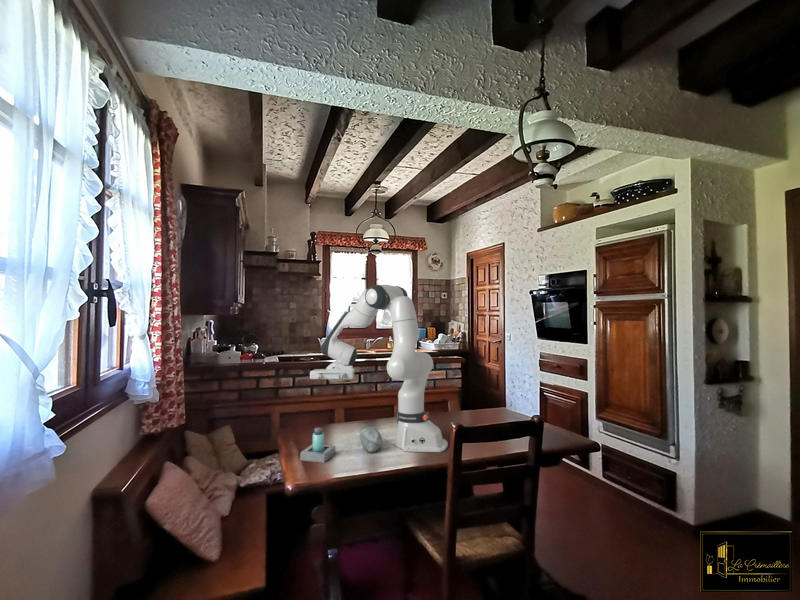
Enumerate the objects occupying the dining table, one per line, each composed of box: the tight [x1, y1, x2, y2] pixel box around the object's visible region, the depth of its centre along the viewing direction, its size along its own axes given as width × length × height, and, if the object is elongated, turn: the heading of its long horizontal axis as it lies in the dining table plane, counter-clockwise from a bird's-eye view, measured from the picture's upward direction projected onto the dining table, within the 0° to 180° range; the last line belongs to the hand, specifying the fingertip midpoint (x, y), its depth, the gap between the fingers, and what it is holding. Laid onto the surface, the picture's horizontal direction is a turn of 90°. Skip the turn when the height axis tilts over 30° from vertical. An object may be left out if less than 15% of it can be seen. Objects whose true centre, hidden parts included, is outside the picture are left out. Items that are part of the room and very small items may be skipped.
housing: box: [299, 443, 336, 463], centre depth 153 cm, size 10×10×3 cm
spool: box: [359, 426, 383, 453], centre depth 163 cm, size 14×10×10 cm
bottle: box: [312, 427, 325, 453], centre depth 154 cm, size 4×4×11 cm
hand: (329, 377), depth 173 cm, fingers open, 8 cm apart
